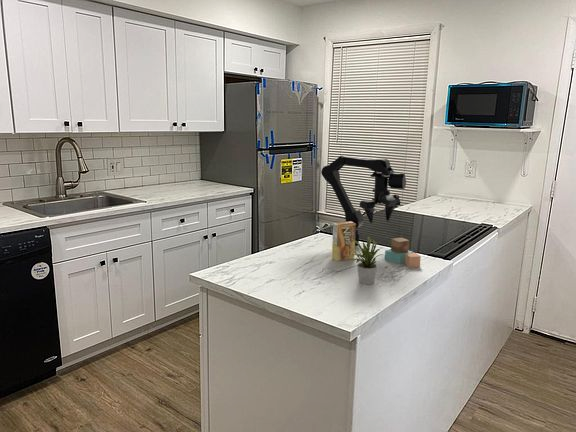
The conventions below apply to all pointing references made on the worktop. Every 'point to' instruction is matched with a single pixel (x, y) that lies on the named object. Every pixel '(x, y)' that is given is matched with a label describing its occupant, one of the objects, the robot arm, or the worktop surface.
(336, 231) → the candy box
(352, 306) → the worktop surface
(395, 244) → the walnut cube
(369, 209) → the robot arm
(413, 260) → the terracotta cube
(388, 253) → the teal base block
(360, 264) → the house plant
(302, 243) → the worktop surface
